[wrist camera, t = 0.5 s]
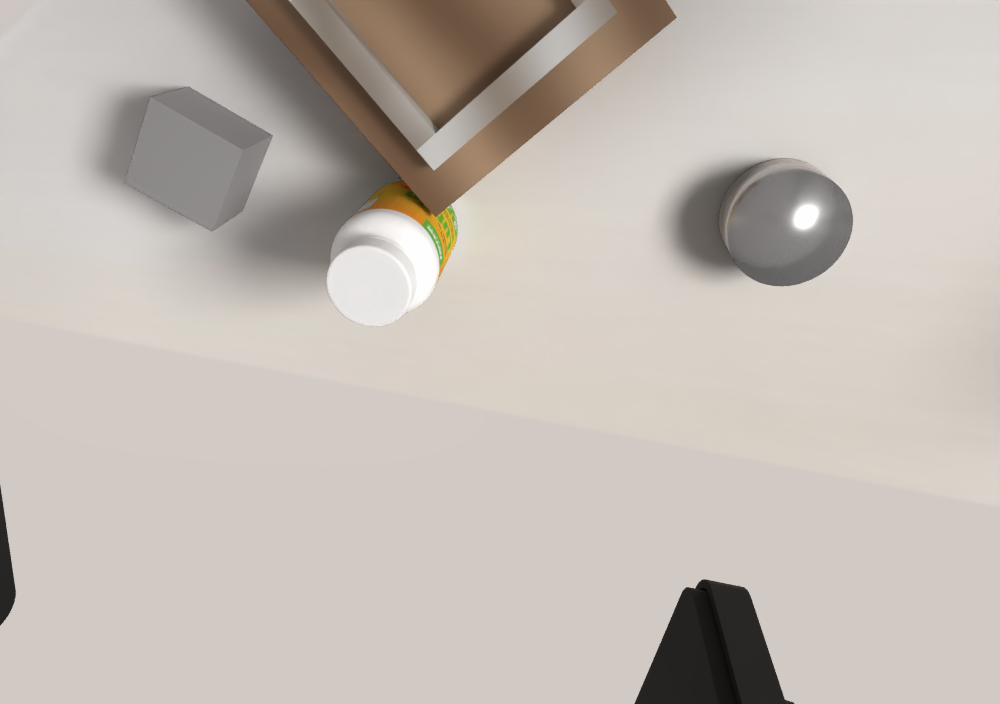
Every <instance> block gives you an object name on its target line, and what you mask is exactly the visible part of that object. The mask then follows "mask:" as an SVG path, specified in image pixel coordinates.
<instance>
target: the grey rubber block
mask: <svg viewBox="0 0 1000 704" xmlns="http://www.w3.org/2000/svg"><path fill="white" fill-rule="evenodd" d="M272 136H273V135H271V134H269V133H268V132H266V131H264V130H262V129H261V128H259V127H257V126H256V125H254V124H252V123H250V122H249V121H247V120H245V119H243V118H242V117H240V116H238V115H237V114H235V113H233V112H231V111H230V110H228V109H226V108H225V107H223V106H221V105H219V104H218V103H216V102H214V101H213V100H211V99H209V98H207V97H206V96H204V95H202V94H200V93H199V92H197V91H195V90H194V89H192V88H190V87H186V88H182V89H178V90H174V91H171V92H167V93H163V94H160V95H156V96H152V97H150V100H149V103H148V107H147V110H146V113H145V116H144V120H143V123H142V126H141V129H140V133H139V136H138V139H137V143H136V146H135V149H134V152H133V156H132V159H131V162H130V166H129V169H128V172H127V175H126V179H125V182H124V183H125V184H127V185H128V186H130V187H132V188H134V189H136V190H138V191H139V192H141V193H143V194H145V195H147V196H148V197H150V198H152V199H154V200H156V201H157V202H159V203H161V204H163V205H165V206H167V207H168V208H170V209H172V210H174V211H176V212H177V213H179V214H181V215H183V216H185V217H186V218H188V219H190V220H192V221H194V222H196V223H197V224H199V225H201V226H203V227H205V228H206V229H208V230H210V231H214V230H215V229H217V228H218V227H220V226H221V225H223V224H224V223H226V222H227V221H229V220H230V219H231V218H233V217H234V216H236V215H237V214H239V213H240V212H242V211H243V209H244V206H245V204H246V201H247V199H248V196H249V194H250V191H251V189H252V186H253V184H254V181H255V179H256V176H257V174H258V171H259V169H260V166H261V164H262V161H263V159H264V156H265V154H266V151H267V149H268V146H269V144H270V141H271V139H272Z"/></svg>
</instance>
